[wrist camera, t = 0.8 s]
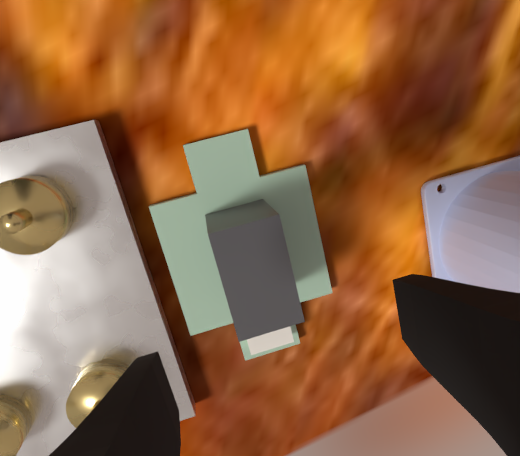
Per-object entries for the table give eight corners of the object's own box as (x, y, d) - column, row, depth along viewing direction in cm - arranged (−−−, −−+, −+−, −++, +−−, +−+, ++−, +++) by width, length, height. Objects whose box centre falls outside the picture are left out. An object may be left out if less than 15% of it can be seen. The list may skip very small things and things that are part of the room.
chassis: (98, 120, 18) (76, 117, 15) (195, 403, 23) (195, 454, 19) (-202, 193, 17) (-306, 209, 14) (-41, 479, 21) (-88, 548, 18)
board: (292, 117, 20) (320, 112, 15) (336, 325, 23) (370, 371, 19) (134, 157, 19) (116, 164, 15) (202, 367, 22) (205, 425, 18)
